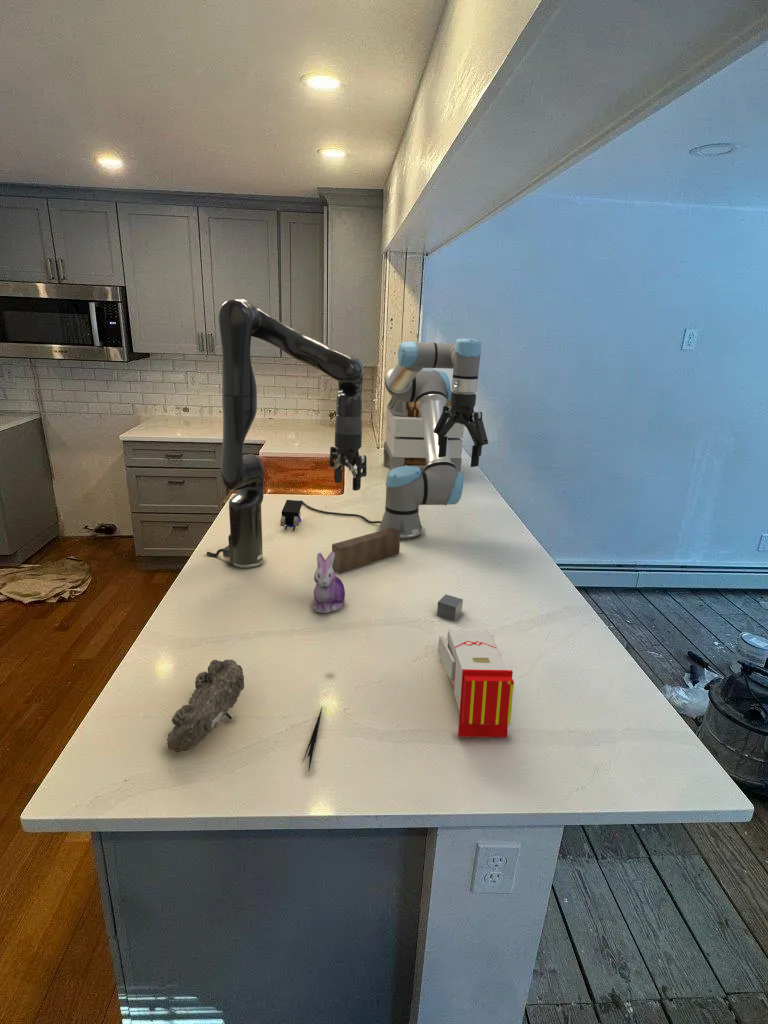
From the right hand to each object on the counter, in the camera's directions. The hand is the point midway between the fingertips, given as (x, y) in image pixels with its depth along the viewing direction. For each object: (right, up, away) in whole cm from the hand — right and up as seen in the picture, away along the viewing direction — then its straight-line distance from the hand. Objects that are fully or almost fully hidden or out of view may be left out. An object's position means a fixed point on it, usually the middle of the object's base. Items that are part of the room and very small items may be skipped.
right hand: (457, 461), depth 177 cm
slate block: (-6, -42, -28) cm, 51 cm away
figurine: (-38, -41, -27) cm, 62 cm away
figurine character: (-56, -21, +26) cm, 65 cm away
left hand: (-34, -8, -13) cm, 37 cm away
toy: (-5, -53, -58) cm, 79 cm away
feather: (-35, -56, -68) cm, 95 cm away
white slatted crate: (-6, +3, +98) cm, 98 cm away
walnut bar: (-28, -31, +1) cm, 42 cm away
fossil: (-56, -55, -69) cm, 104 cm away
